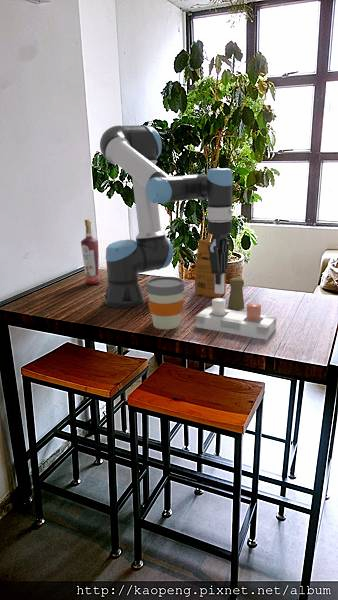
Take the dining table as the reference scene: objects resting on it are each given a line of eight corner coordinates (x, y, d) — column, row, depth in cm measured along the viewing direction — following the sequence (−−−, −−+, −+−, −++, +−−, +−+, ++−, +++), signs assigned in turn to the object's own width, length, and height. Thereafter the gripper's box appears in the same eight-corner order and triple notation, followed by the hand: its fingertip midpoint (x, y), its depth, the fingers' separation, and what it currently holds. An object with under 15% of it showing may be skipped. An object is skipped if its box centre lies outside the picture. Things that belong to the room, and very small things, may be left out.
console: (195, 327, 150) (195, 315, 149) (208, 317, 158) (208, 306, 157) (266, 339, 139) (267, 327, 137) (275, 328, 147) (276, 317, 146)
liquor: (104, 282, 202) (100, 219, 192) (94, 286, 196) (88, 221, 187) (92, 280, 205) (86, 218, 196) (81, 284, 199) (75, 220, 190)
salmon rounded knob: (244, 319, 143) (244, 306, 142) (249, 315, 147) (249, 302, 146) (257, 321, 141) (258, 308, 140) (262, 317, 145) (262, 304, 144)
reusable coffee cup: (182, 332, 146) (181, 288, 141) (144, 330, 148) (142, 286, 143) (187, 318, 158) (186, 276, 153) (152, 316, 160) (150, 276, 155)
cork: (244, 310, 164) (244, 280, 160) (227, 309, 165) (227, 280, 161) (244, 304, 169) (245, 276, 166) (228, 303, 171) (229, 275, 167)
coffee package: (201, 288, 190) (201, 236, 182) (229, 292, 184) (230, 238, 176) (190, 295, 181) (190, 241, 174) (218, 299, 175) (219, 243, 168)
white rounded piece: (209, 313, 149) (209, 301, 148) (215, 309, 153) (215, 297, 151) (222, 315, 147) (222, 303, 145) (227, 311, 151) (227, 299, 149)
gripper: (222, 224, 133) (222, 300, 140) (238, 217, 143) (237, 288, 151) (199, 222, 136) (200, 297, 144) (216, 216, 147) (216, 286, 154)
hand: (219, 292), depth 147 cm, fingers closed
